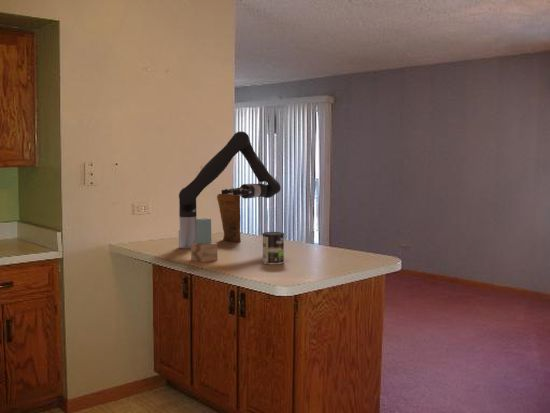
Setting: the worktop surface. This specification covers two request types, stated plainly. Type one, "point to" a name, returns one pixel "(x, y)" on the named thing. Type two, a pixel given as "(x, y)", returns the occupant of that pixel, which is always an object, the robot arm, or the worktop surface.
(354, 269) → the worktop surface
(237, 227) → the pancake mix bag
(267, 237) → the coffee can
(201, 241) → the post
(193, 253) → the block
